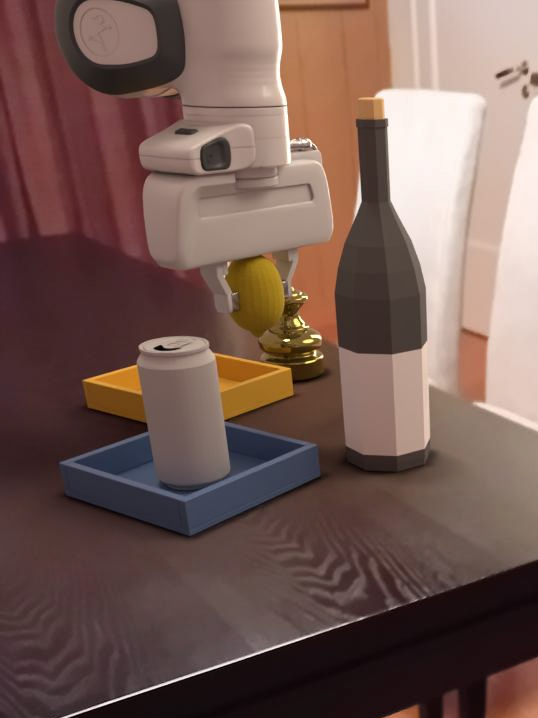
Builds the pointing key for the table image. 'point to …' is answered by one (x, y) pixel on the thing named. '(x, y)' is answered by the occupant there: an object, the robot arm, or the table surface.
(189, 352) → the beverage can
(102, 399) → the yellow tray
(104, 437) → the table surface
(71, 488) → the blue tray
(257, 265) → the lemon
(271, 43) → the robot arm
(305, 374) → the gold chess piece
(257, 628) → the table surface
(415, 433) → the wine bottle
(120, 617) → the table surface
